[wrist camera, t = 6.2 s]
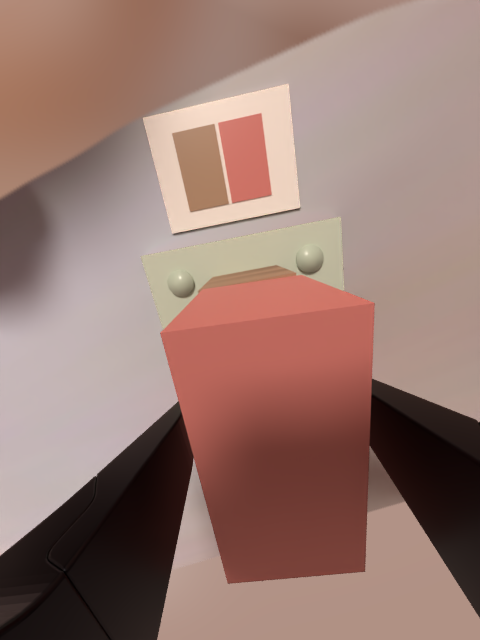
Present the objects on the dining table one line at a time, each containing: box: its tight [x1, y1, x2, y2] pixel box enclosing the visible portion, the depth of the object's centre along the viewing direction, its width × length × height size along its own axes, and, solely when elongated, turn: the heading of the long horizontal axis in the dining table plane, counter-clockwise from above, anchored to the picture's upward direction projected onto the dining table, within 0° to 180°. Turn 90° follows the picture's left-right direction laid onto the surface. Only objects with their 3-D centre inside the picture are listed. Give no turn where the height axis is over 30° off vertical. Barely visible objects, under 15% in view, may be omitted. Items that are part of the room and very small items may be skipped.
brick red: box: [160, 275, 374, 584], centre depth 8 cm, size 8×4×5 cm, turn 8°
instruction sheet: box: [143, 84, 300, 234], centre depth 13 cm, size 8×6×1 cm
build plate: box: [141, 217, 344, 330], centre depth 15 cm, size 12×12×1 cm
